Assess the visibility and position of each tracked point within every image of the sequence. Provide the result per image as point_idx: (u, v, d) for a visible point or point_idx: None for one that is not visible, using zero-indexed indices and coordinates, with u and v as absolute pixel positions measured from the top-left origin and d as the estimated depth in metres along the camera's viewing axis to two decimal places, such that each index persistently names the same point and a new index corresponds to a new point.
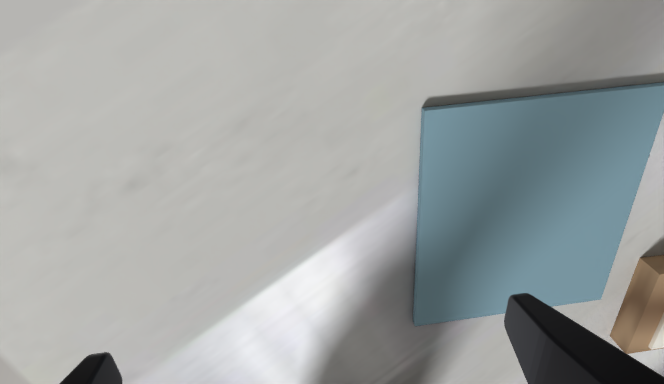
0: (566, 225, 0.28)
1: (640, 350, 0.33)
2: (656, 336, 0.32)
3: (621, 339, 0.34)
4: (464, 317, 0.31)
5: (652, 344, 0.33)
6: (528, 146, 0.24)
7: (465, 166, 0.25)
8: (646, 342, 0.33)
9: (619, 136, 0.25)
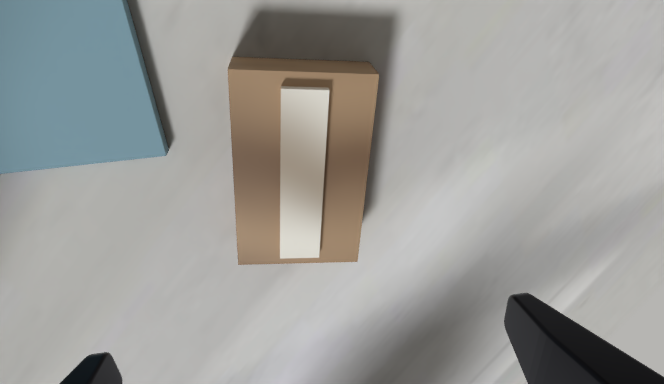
0: None
1: (267, 261, 0.18)
2: (281, 230, 0.17)
3: None
4: None
5: (280, 248, 0.17)
6: None
7: None
8: (272, 245, 0.18)
9: None
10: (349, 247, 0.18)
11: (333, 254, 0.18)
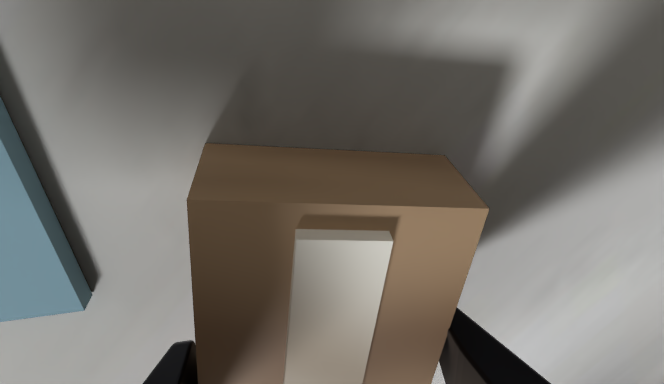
0: None
1: None
2: None
3: None
4: None
5: None
6: None
7: None
8: None
9: None
10: None
11: None
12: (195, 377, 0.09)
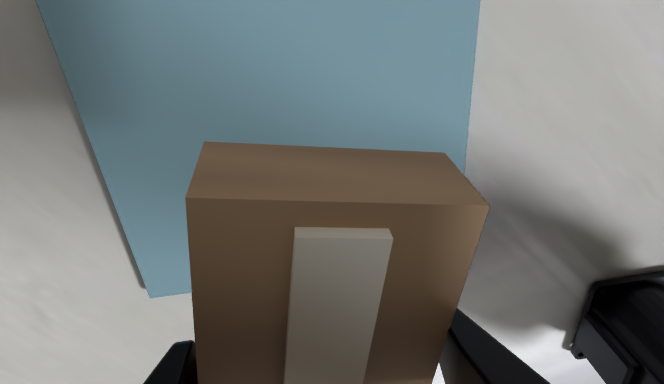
0: (301, 90, 0.18)
1: None
2: None
3: None
4: None
5: None
6: (174, 184, 0.19)
7: None
8: None
9: (138, 57, 0.16)
10: None
11: None
12: (195, 377, 0.09)
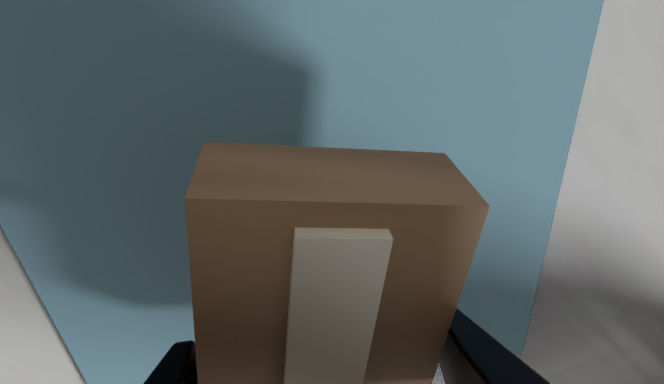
0: None
1: None
2: None
3: None
4: (533, 286, 0.15)
5: None
6: (133, 280, 0.13)
7: None
8: None
9: (66, 104, 0.10)
10: None
11: None
12: (195, 377, 0.09)
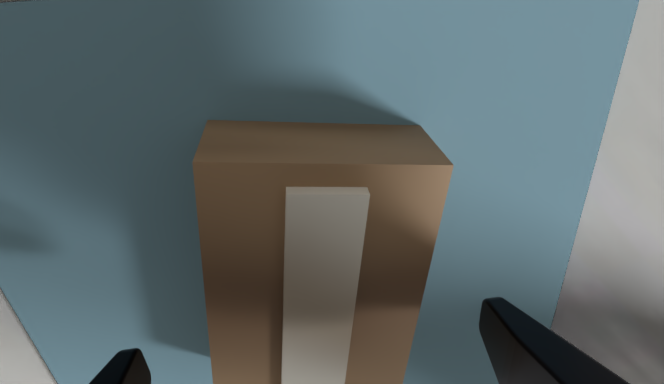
0: None
1: None
2: None
3: None
4: (551, 308, 0.14)
5: None
6: (124, 306, 0.12)
7: None
8: None
9: (48, 121, 0.09)
10: None
11: None
12: None
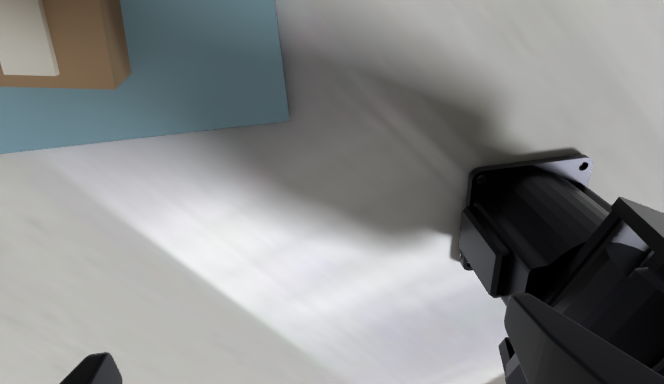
0: None
1: None
2: None
3: None
4: (274, 35, 0.17)
5: (2, 60, 0.14)
6: None
7: None
8: None
9: None
10: (98, 67, 0.15)
11: (80, 76, 0.15)
12: None
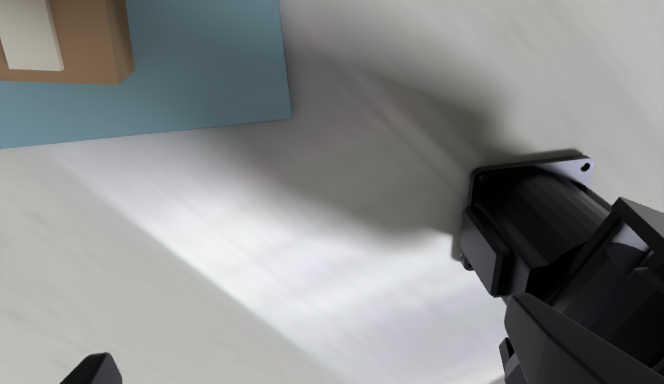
0: None
1: (0, 76, 0.15)
2: (1, 27, 0.14)
3: None
4: (277, 33, 0.17)
5: (7, 54, 0.14)
6: None
7: None
8: None
9: None
10: (102, 63, 0.15)
11: (84, 71, 0.15)
12: None
